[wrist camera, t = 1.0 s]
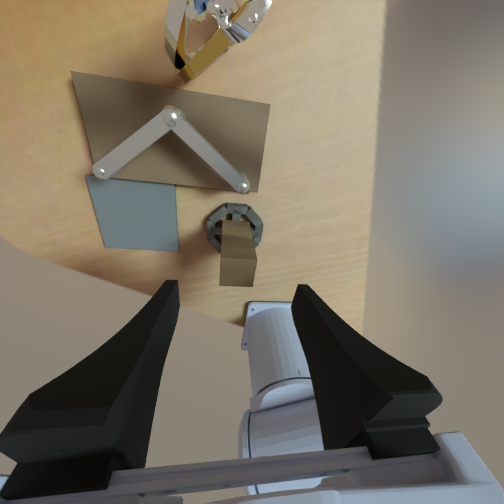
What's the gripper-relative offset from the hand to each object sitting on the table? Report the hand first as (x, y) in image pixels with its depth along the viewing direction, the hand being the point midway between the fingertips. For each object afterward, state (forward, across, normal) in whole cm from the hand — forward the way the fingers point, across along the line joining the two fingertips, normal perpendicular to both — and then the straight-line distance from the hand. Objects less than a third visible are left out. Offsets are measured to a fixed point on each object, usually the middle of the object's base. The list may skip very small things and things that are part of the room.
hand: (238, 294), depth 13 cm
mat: (+9, +8, 0) cm, 12 cm away
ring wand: (+9, 0, 0) cm, 9 cm away
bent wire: (+9, +4, -7) cm, 12 cm away
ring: (+9, +2, -13) cm, 16 cm away
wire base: (+9, +4, -7) cm, 12 cm away
